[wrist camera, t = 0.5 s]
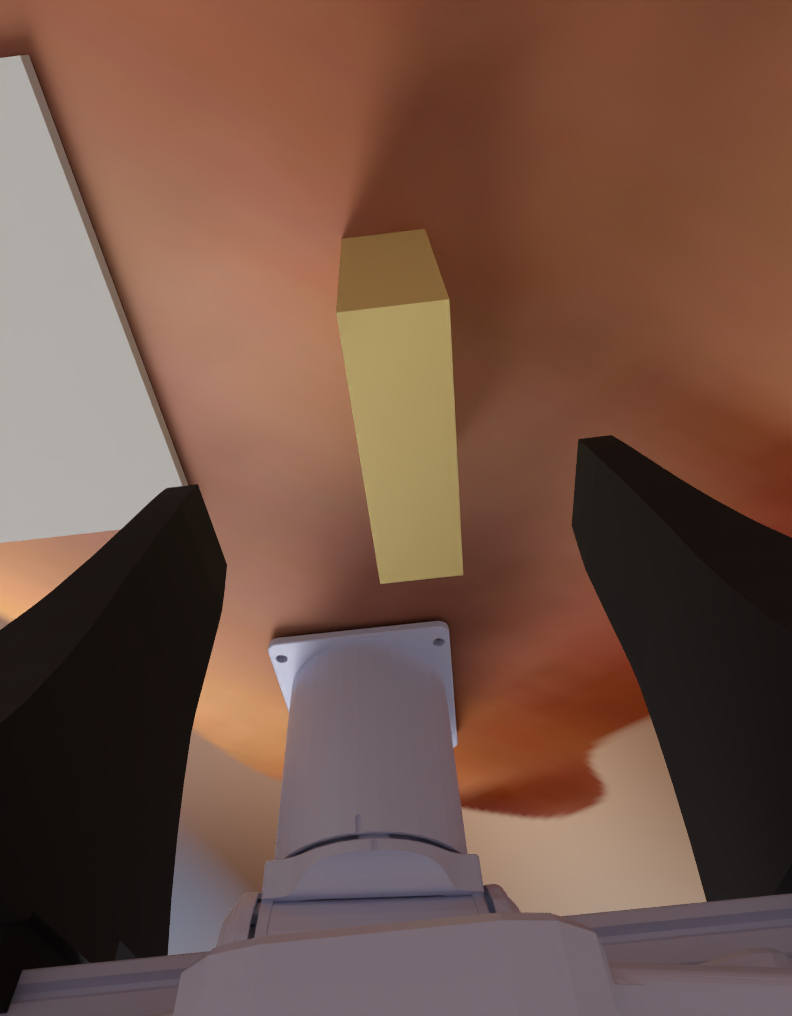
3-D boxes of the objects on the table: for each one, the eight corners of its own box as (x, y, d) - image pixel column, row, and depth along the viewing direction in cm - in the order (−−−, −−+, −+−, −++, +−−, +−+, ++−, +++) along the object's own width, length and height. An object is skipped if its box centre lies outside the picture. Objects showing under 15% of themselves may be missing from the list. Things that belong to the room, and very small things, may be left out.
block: (440, 461, 23) (463, 575, 18) (375, 468, 23) (380, 583, 18) (424, 228, 18) (449, 299, 13) (341, 238, 18) (336, 312, 13)
